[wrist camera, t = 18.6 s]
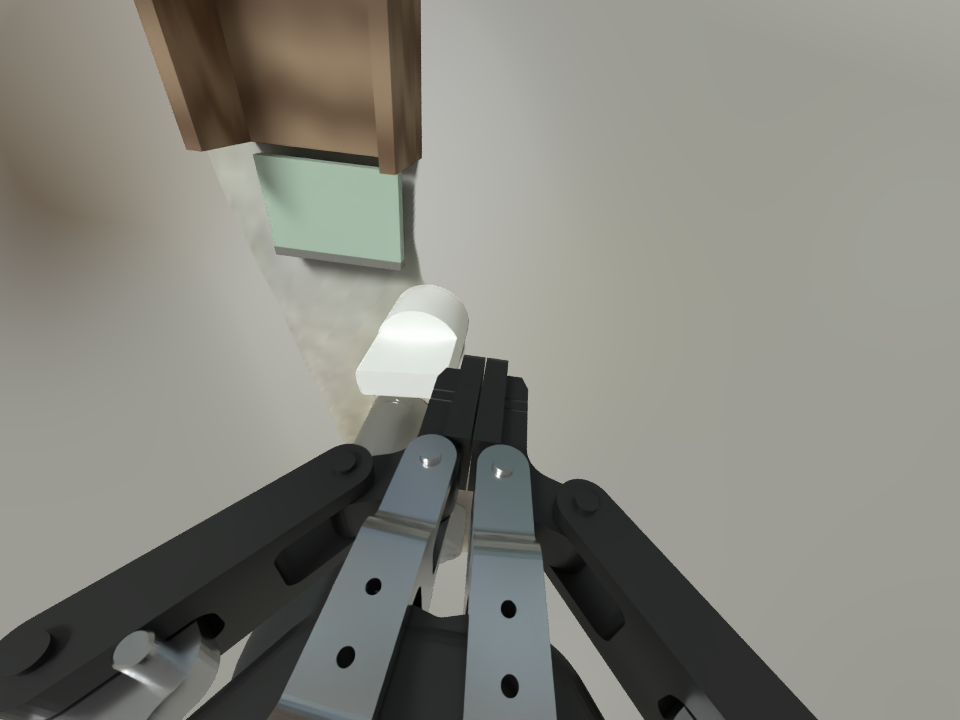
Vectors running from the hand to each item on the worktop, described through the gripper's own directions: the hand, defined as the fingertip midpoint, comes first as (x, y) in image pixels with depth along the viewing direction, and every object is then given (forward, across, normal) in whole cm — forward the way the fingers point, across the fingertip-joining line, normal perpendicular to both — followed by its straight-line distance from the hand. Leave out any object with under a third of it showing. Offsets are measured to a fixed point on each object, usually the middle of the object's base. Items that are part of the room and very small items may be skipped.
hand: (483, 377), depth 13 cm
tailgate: (+25, +17, -1) cm, 30 cm away
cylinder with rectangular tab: (+27, +8, +15) cm, 32 cm away
